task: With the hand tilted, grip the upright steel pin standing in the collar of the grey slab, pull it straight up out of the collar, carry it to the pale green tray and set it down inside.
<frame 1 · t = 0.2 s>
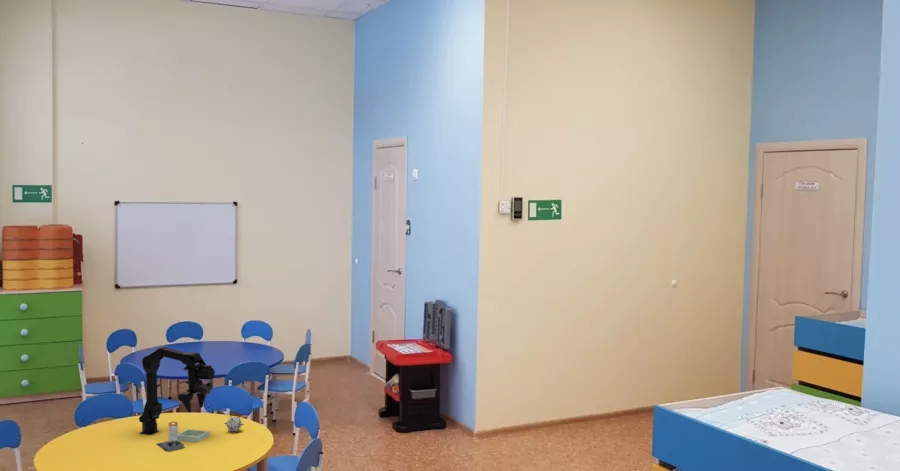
hand: (195, 409, 375), 14 cm above the table, tool pointing down, fingers open, 9 cm apart
pin: (173, 447, 359), point 1 cm above the table, touching grey slab
tray: (192, 440, 373), on the table
grey slab: (173, 450, 359), on the table
game die: (234, 432, 387), on the table
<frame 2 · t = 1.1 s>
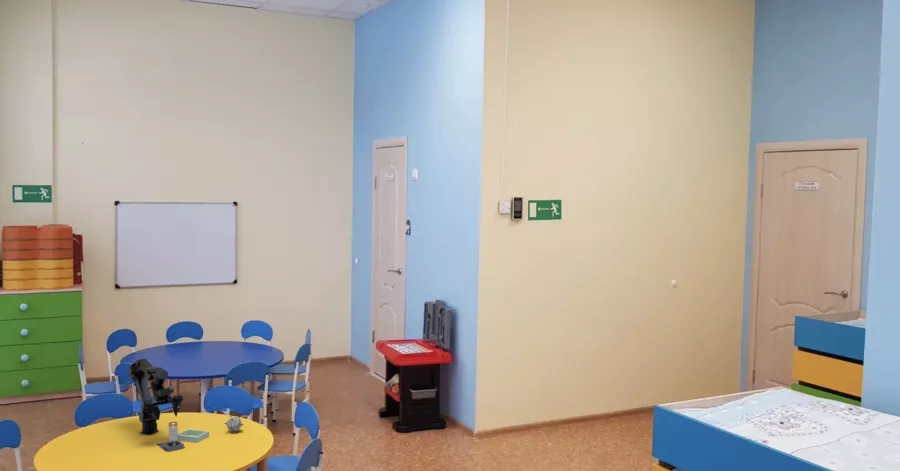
hand: (166, 417, 365), 13 cm above the table, tool tilted 45°, fingers open, 9 cm apart
nothing on the table moved.
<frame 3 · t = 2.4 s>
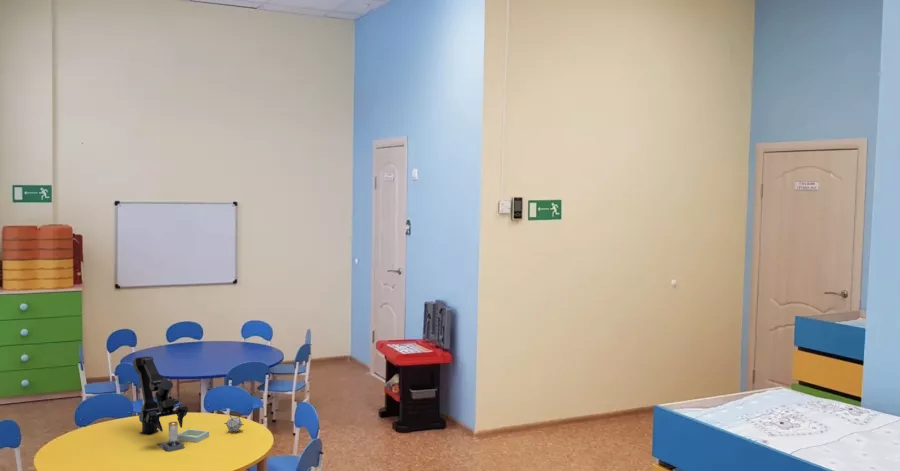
hand: (171, 429, 360), 10 cm above the table, tool tilted 45°, fingers open, 9 cm apart
nothing on the table moved.
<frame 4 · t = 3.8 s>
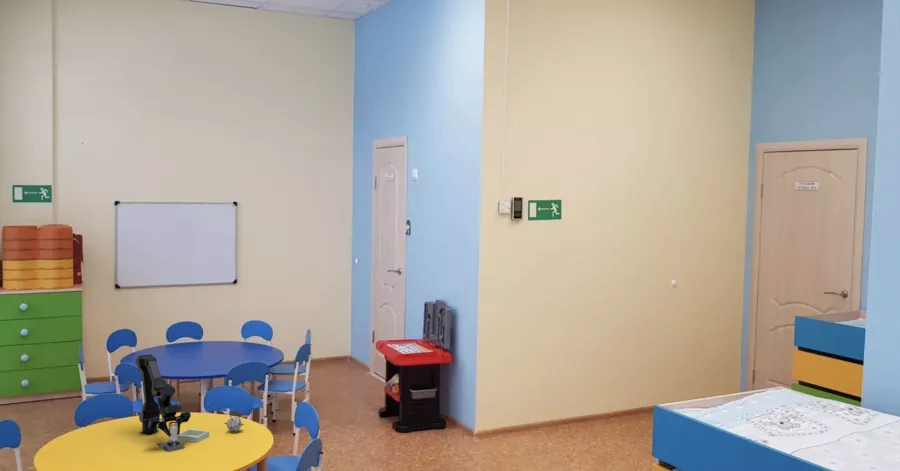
hand: (174, 435, 357), 7 cm above the table, tool tilted 45°, fingers closed on pin, 4 cm apart
pin: (173, 447, 359), point 1 cm above the table, touching grey slab, gripper
everything else where it was.
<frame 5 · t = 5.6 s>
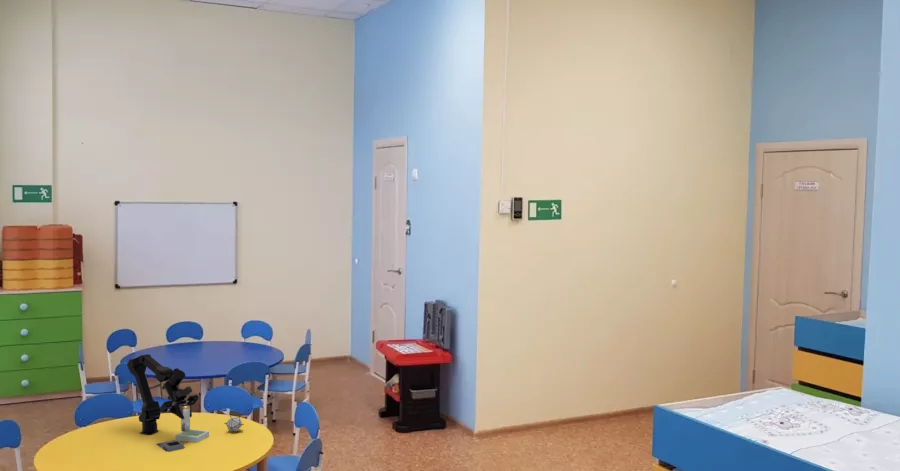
hand: (187, 417, 365), 13 cm above the table, tool tilted 45°, fingers closed on pin, 4 cm apart
pin: (185, 430, 366), point 7 cm above the table, touching gripper
everything else where it was.
when the fingers open (9 cm above the table, at t = 7.2 s): pin drops 1 cm, resting on tray.
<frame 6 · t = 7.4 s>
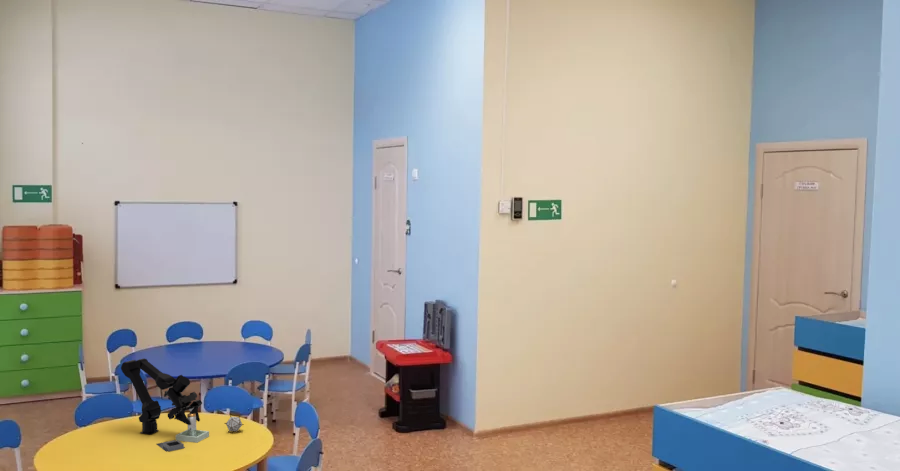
hand: (194, 422, 372), 9 cm above the table, tool tilted 45°, fingers open, 6 cm apart
pin: (192, 438, 373), point 1 cm above the table, touching tray
everything else where it was.
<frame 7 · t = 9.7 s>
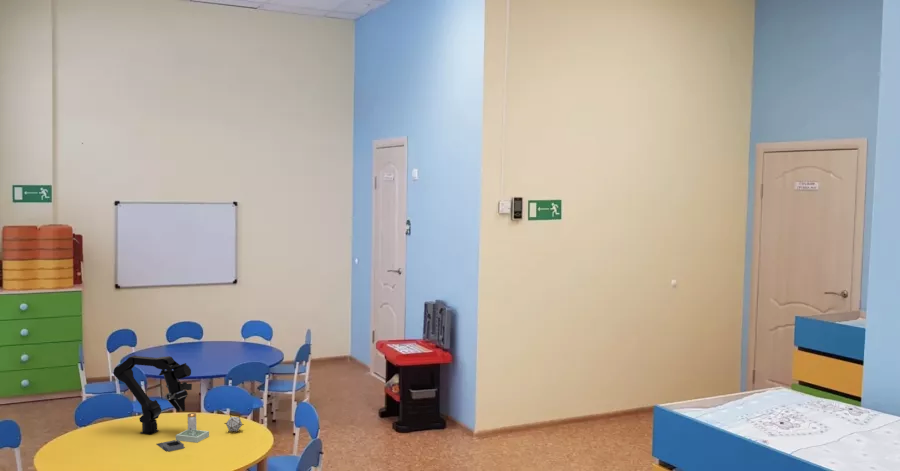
hand: (181, 411, 381), 12 cm above the table, tool tilted 20°, fingers open, 9 cm apart
nothing on the table moved.
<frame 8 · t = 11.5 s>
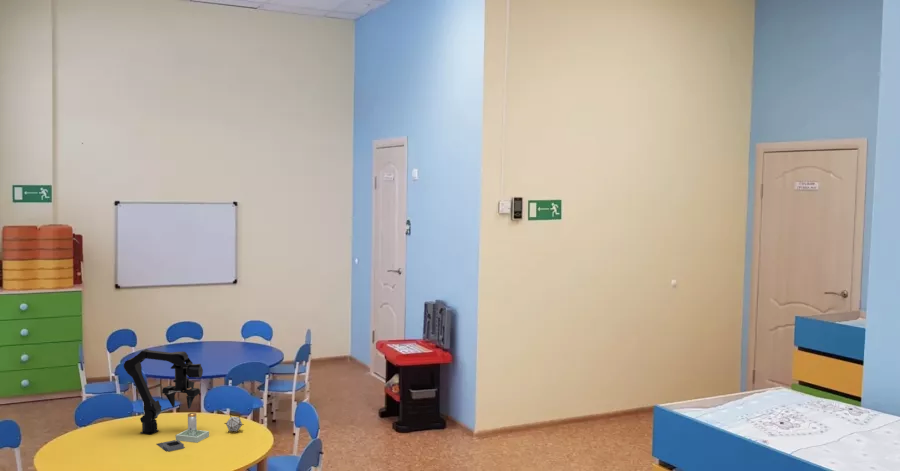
hand: (181, 407, 384), 13 cm above the table, tool pointing down, fingers open, 9 cm apart
nothing on the table moved.
at the end: pin inside the target area on the tray (0.0 cm from its centre), point 1.1 cm above the tray's base; pin touching tray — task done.
